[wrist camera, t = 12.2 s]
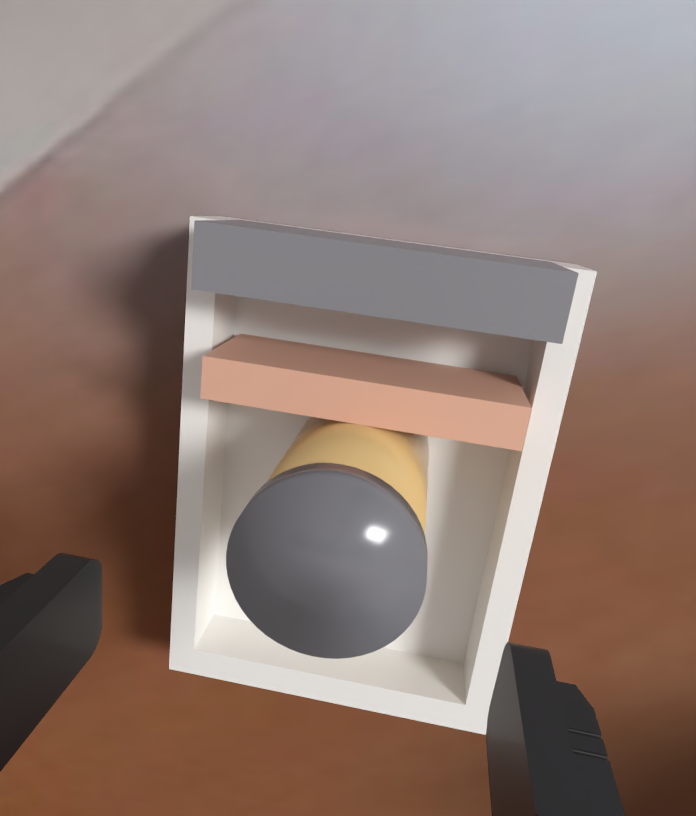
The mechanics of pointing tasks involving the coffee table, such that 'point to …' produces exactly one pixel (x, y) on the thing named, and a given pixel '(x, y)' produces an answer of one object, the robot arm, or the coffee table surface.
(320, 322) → the tray
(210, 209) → the coffee table surface
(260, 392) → the plate
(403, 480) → the amber jar
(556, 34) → the coffee table surface
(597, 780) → the robot arm
